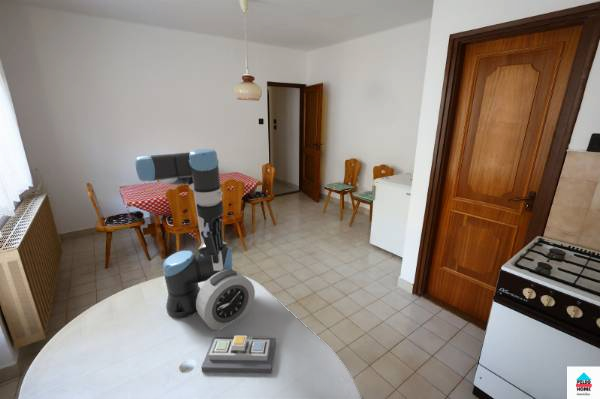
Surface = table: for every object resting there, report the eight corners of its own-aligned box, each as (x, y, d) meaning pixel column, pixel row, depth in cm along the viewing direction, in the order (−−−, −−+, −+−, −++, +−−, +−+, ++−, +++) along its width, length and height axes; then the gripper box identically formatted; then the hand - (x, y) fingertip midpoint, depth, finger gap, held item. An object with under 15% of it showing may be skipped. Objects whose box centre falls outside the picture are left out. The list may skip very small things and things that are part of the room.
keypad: (202, 371, 88) (200, 362, 87) (214, 341, 100) (213, 332, 98) (271, 373, 87) (270, 363, 86) (276, 342, 99) (275, 333, 97)
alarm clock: (207, 336, 102) (200, 290, 95) (198, 325, 107) (191, 281, 101) (256, 308, 115) (252, 266, 109) (246, 299, 121) (242, 259, 114)
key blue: (251, 356, 91) (250, 350, 90) (253, 346, 94) (253, 340, 94) (263, 356, 90) (263, 351, 90) (265, 346, 94) (264, 341, 93)
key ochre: (232, 350, 90) (231, 344, 89) (235, 340, 94) (234, 334, 93) (244, 350, 90) (243, 344, 89) (247, 340, 94) (246, 335, 93)
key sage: (214, 355, 91) (213, 350, 90) (218, 345, 95) (217, 340, 94) (226, 355, 91) (226, 350, 90) (230, 345, 95) (229, 340, 94)
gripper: (214, 210, 77) (223, 281, 85) (228, 194, 89) (235, 258, 98) (187, 210, 78) (199, 281, 86) (205, 194, 90) (214, 258, 98)
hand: (218, 269), depth 92 cm, fingers closed
